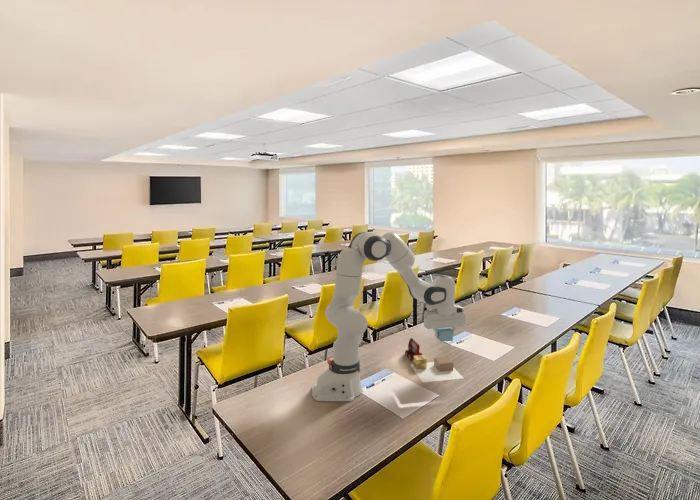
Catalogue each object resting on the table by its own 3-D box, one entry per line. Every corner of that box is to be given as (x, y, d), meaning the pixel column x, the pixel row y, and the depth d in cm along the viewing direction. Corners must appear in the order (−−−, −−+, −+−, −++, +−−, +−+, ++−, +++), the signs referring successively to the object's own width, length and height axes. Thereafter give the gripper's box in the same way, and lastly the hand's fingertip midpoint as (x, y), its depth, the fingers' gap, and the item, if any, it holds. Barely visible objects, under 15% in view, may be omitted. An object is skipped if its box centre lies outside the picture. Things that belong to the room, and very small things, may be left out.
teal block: (440, 341, 184) (441, 331, 183) (436, 337, 190) (436, 327, 189) (452, 340, 185) (453, 330, 184) (447, 336, 191) (447, 326, 190)
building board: (422, 384, 176) (423, 374, 175) (409, 366, 194) (409, 356, 194) (464, 380, 179) (464, 370, 178) (447, 362, 198) (447, 353, 197)
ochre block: (416, 369, 188) (416, 360, 187) (413, 365, 193) (413, 355, 192) (426, 368, 189) (426, 359, 188) (422, 364, 194) (423, 354, 193)
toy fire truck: (415, 353, 210) (415, 335, 208) (424, 363, 198) (425, 344, 196) (403, 354, 208) (403, 336, 207) (411, 364, 196) (412, 345, 195)
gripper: (426, 311, 180) (426, 339, 183) (467, 308, 184) (466, 336, 186) (422, 307, 187) (421, 335, 189) (461, 305, 190) (460, 331, 192)
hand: (444, 335), depth 187 cm, fingers closed on teal block, 6 cm apart
